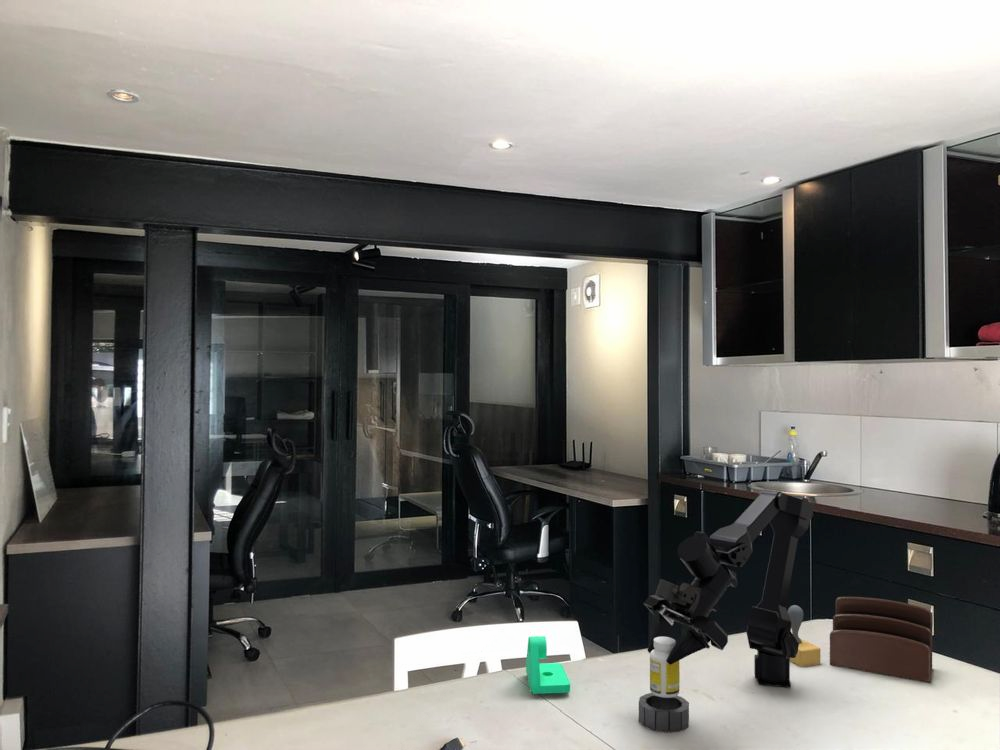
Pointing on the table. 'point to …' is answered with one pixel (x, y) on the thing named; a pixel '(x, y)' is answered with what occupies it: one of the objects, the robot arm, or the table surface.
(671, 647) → the supplement bottle
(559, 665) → the camera mount
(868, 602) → the letter holder
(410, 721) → the table surface
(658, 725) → the ring
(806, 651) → the rubber stamp
